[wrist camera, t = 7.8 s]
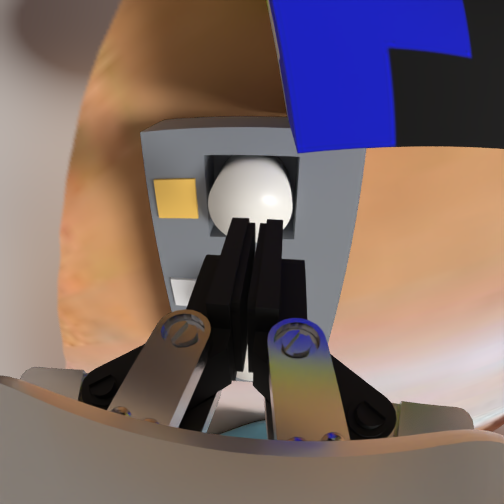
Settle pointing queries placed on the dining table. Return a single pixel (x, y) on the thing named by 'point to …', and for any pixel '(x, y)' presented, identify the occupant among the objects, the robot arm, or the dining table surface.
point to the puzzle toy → (391, 72)
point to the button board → (204, 176)
